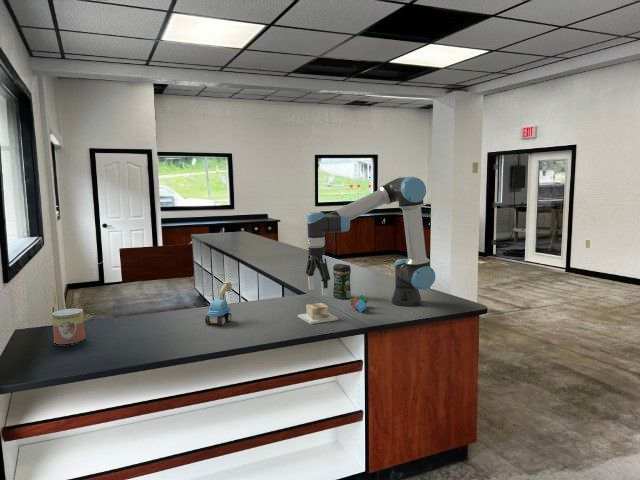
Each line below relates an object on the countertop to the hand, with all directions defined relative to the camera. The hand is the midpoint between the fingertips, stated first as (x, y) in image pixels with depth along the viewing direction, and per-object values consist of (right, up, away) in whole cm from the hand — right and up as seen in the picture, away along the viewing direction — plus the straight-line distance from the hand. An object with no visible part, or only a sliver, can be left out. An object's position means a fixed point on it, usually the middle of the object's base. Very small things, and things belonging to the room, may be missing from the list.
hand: (318, 292), depth 220 cm
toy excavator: (-44, -13, -1) cm, 46 cm away
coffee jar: (+13, -8, +41) cm, 44 cm away
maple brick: (0, -11, +1) cm, 11 cm away
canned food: (-101, -17, -26) cm, 105 cm away
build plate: (0, -12, +1) cm, 12 cm away
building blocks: (+21, -11, +15) cm, 28 cm away
